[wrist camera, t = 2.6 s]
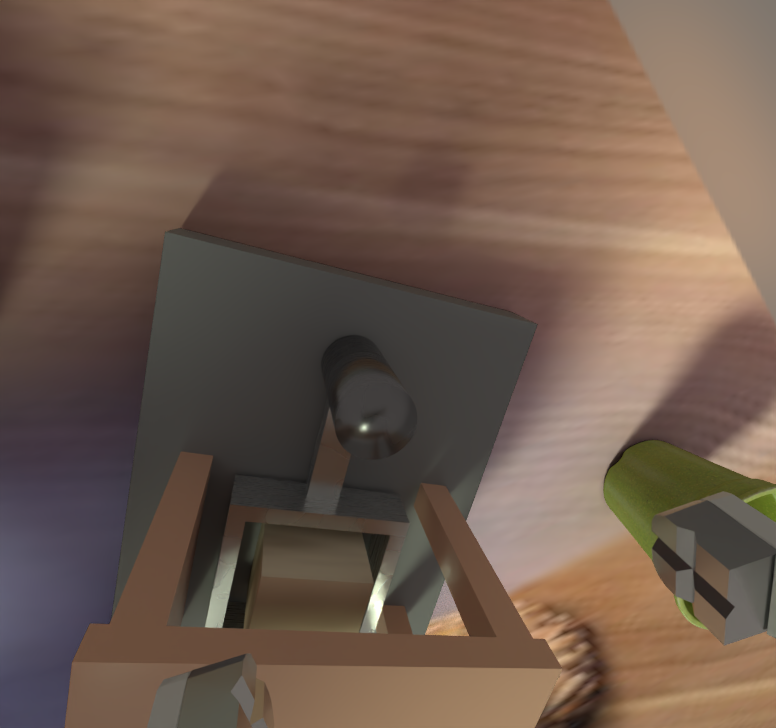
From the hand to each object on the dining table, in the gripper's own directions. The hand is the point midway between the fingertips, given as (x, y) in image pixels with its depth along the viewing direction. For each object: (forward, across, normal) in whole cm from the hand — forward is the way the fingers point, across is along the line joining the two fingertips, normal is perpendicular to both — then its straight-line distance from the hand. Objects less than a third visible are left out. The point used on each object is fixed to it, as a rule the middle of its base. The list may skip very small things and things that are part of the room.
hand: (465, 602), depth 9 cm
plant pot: (+18, -18, +15) cm, 30 cm away
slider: (+15, +4, +6) cm, 16 cm away
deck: (+18, +6, +10) cm, 21 cm away
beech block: (+15, +6, +10) cm, 19 cm away
